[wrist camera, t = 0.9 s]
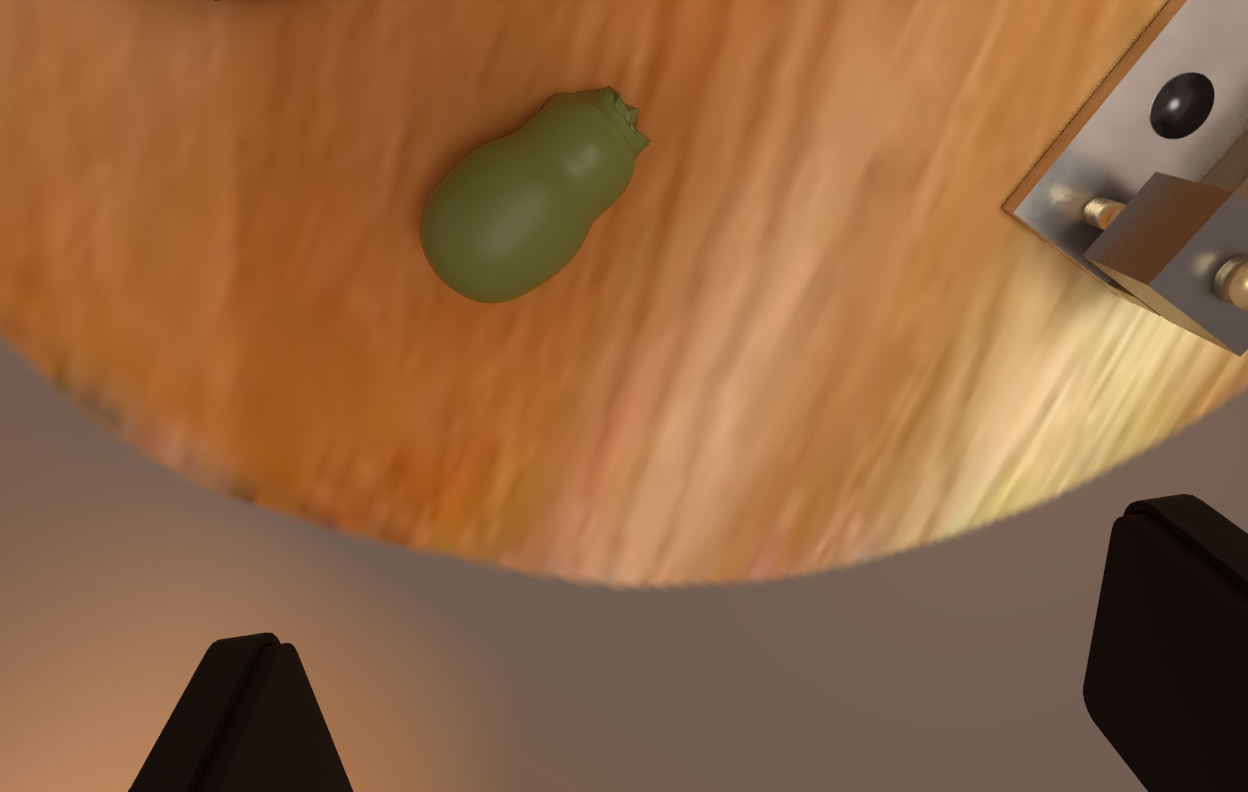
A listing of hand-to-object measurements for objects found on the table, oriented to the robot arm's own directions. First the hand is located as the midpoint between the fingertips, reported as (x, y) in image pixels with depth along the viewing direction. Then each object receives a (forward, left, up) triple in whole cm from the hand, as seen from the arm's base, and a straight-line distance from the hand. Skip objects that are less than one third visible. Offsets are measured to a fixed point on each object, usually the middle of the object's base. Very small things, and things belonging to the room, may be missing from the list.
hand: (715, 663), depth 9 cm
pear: (+1, -2, -27) cm, 27 cm away
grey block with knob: (-11, +21, -25) cm, 35 cm away
